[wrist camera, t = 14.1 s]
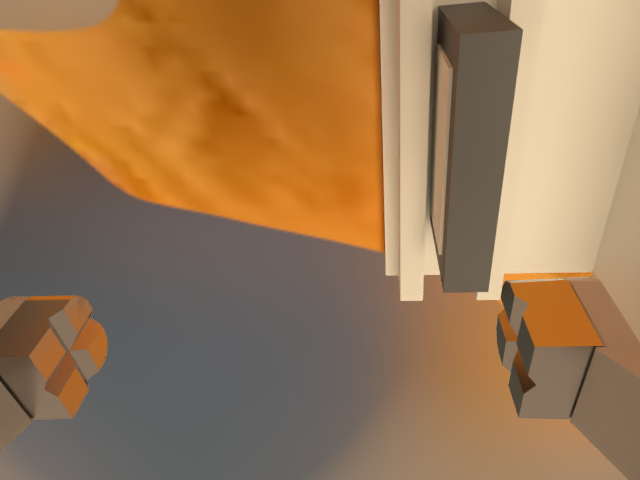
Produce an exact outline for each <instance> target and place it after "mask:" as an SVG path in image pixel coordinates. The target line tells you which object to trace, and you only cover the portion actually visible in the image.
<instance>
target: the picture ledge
mask: <svg viewBox="0 0 640 480" xmlns="http://www.w3.org/2000/svg"><path fill="white" fill-rule="evenodd" d="M474 2H487V3H488V4H489V5H491V6H492V7H493V8H495V9H496V10H497V11H499V12H500V13H501V14H503V15H504V16H506V17H507V18H508V19H510V20H511V21H512V22H514V23H515V24H516V25H518V26H519V27H520V28H522V29H523V35H522V43H521V50H520V58H519V65H518V73H517V80H516V88H515V95H514V103H513V110H512V118H511V125H510V133H509V140H508V148H507V155H506V163H505V170H504V178H503V185H502V193H501V200H500V208H499V215H498V223H497V230H496V238H495V245H494V253H493V260H492V268H491V275H490V283H489V290H488V292H475V295H476V299H477V300H500V296H501V290H502V283H503V277H504V274H508V273H568V272H593V274H594V276H595V277H596V278H598V279H599V280H600V281H601V282H602V284H603V285H604V287H605V288H606V290H607V292H608V293H609V295H610V296H611V298H612V299H613V301H614V303H615V304H616V306H617V307H618V309H619V310H620V312H621V314H622V315H623V317H624V318H625V320H626V321H627V323H628V324H629V326H630V328H631V329H632V331H633V332H634V334H635V335H636V337H637V339H638V340H639V342H640V0H379V8H380V51H381V93H382V135H383V178H384V220H385V258H386V259H385V260H386V261H385V262H386V275H399V286H400V299H401V301H423V279H424V275H440V271H439V266H438V260H437V255H436V249H435V244H434V239H433V233H432V228H431V223H430V198H431V172H432V147H433V121H434V95H435V69H436V44H437V31H438V6H441V5H452V4H463V3H474Z"/></svg>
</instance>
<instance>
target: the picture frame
mask: <svg viewBox="0 0 640 480" xmlns="http://www.w3.org/2000/svg"><path fill="white" fill-rule="evenodd" d="M522 35H523V29H522V28H520V27H519V26H518V25H516V24H515V23H514V22H512V21H511V20H510V19H508V18H507V17H506V16H504V15H503V14H501V13H500V12H499V11H497V10H496V9H495V8H493V7H492V6H491V5H489V4H488V3H487V2H474V3H463V4H452V5H441V6H438V31H437V44H436V69H435V95H434V121H433V147H432V172H431V198H430V223H431V228H432V233H433V239H434V244H435V249H436V255H437V260H438V266H439V271H440V276H441V282H442V287H443V292H444V293H446V292H447V293H448V292H449V293H452V292H488V290H489V283H490V275H491V268H492V260H493V253H494V245H495V238H496V230H497V223H498V215H499V208H500V200H501V193H502V185H503V178H504V170H505V163H506V155H507V148H508V140H509V133H510V125H511V118H512V110H513V103H514V95H515V88H516V80H517V73H518V65H519V58H520V50H521V43H522Z"/></svg>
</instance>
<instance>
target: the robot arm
mask: <svg viewBox="0 0 640 480" xmlns="http://www.w3.org/2000/svg"><path fill="white" fill-rule="evenodd" d="M501 300H502V303H503V306H504V310H503V311H502V312H501V313H499V314H498V319H497V327H496V330H497V345H498V351H499V355H500V359H501V362H502V365H503V366H504V367H505V368H507V369H508V370H509V371H510V372H511V374H510V380H509V385H508V386H509V389H510V392H511V395H512V398H513V402H514V405H515V408H516V411H517V415H518V418H539V419H540V418H541V419H571V423H572V424H573V425H574V426H575V427H576V428H577V429H578V430H579V431H580V432H581V433H582V434H583V435H584V436H585V437H586V438H587V439H588V440H589V441H590V442H591V443H592V444H593V445H594V446H595V447H596V448H597V449H598V450H599V451H600V452H601V453H602V454H603V455H604V456H605V457H606V458H607V459H608V460H609V461H610V462H611V463H612V464H613V465H614V466H615V467H616V468H617V469H618V470H619V471H620V472H621V473H622V474H623V475H624V476H625V477H626V478H627V479H628V480H640V342H639V340H638V339H637V337H636V335H635V334H634V332H633V331H632V329H631V328H630V326H629V324H628V323H627V321H626V320H625V318H624V317H623V315H622V314H621V312H620V310H619V309H618V307H617V306H616V304H615V303H614V301H613V299H612V298H611V296H610V295H609V293H608V292H607V290H606V288H605V287H604V285H603V284H602V282H601V281H600V280H599V279H598V278H596V277H595V276H590V277H571V278H564V279H561V278H560V279H536V280H512V281H505V282H504V284H503V287H502V292H501ZM92 311H93V309H92V308H91V306H90V304H89V302H88V301H87V299H86V298H84V297H80V296H33V297H10V298H8V299H5V300H3V301H1V302H0V450H2V449H3V448H4V447H5V446H6V445H7V444H8V443H9V442H11V441H12V440H13V439H14V438H15V437H16V436H17V435H18V434H19V433H21V432H22V431H23V430H24V429H25V428H26V427H27V426H28V425H29V424H30V423H32V420H33V419H65V418H66V419H67V418H73V417H74V415H75V414H76V412H77V410H78V408H79V406H80V405H81V403H82V401H83V399H84V397H85V396H86V394H87V392H88V390H89V387H88V383H87V380H88V379H89V378H90V377H92V376H93V375H94V374H95V373H97V372H98V371H99V370H100V368H101V366H102V364H103V363H104V361H105V359H106V353H107V347H108V342H107V337H106V333H105V331H104V330H103V327H102V326H101V325H100V324H99V323H97V322H96V321H94V320H93V319H91V318H90V317H91V314H92Z"/></svg>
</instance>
